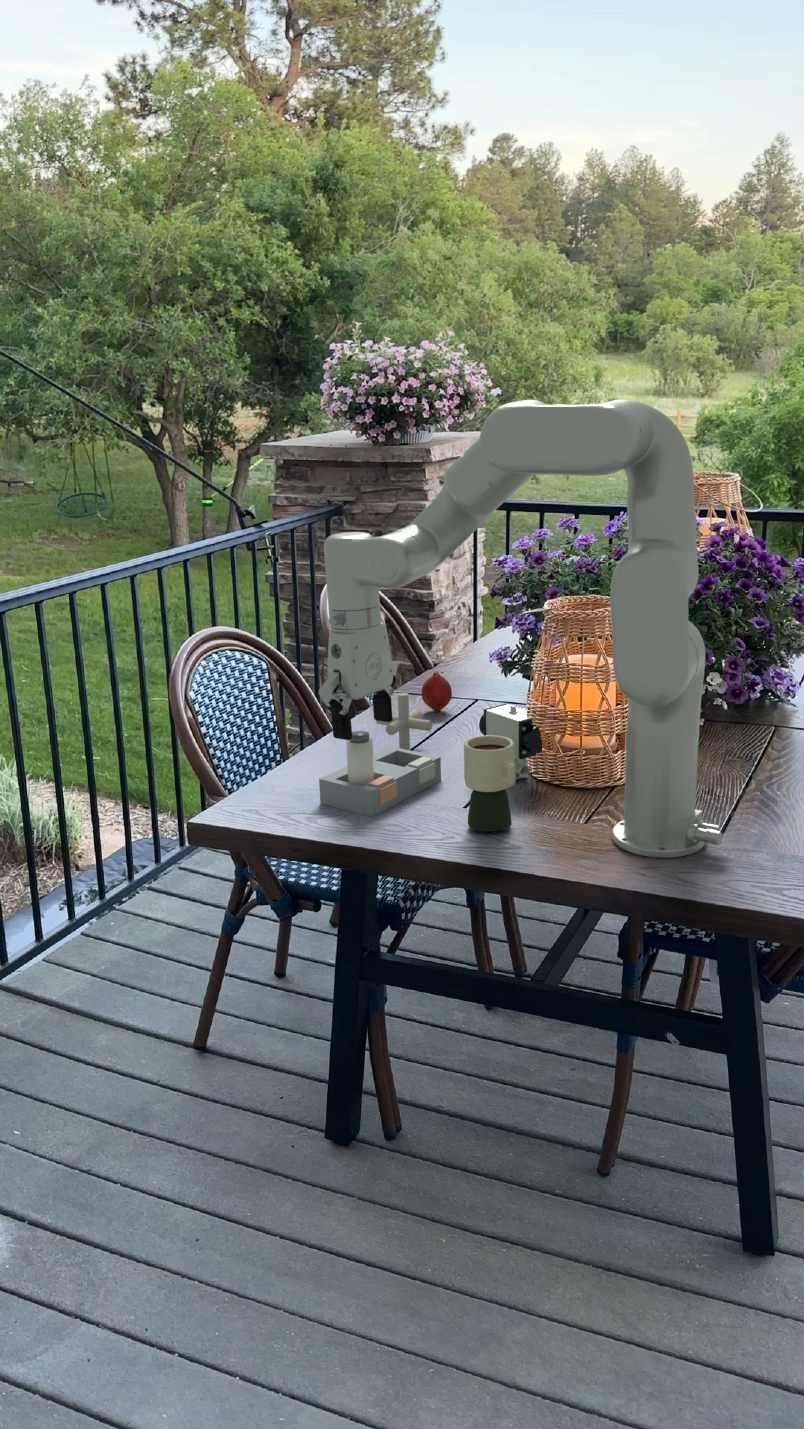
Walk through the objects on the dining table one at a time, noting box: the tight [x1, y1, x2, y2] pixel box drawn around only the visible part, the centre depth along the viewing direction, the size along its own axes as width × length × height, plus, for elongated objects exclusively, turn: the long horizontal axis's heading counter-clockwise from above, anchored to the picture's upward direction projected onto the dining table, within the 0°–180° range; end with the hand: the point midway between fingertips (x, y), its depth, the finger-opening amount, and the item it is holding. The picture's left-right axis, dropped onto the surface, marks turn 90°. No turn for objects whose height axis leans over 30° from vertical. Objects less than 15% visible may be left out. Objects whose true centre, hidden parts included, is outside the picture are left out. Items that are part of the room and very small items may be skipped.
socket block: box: [318, 745, 442, 818], centre depth 182 cm, size 10×18×4 cm, turn 143°
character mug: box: [463, 735, 516, 833], centre depth 166 cm, size 11×7×13 cm, turn 35°
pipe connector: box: [375, 692, 433, 751], centre depth 200 cm, size 10×10×10 cm
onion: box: [421, 671, 453, 713], centre depth 221 cm, size 6×6×8 cm
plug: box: [345, 730, 374, 786], centre depth 177 cm, size 4×4×11 cm
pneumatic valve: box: [478, 703, 542, 782], centre depth 186 cm, size 6×12×12 cm, turn 37°
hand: (363, 729), depth 175 cm, fingers open, 9 cm apart
